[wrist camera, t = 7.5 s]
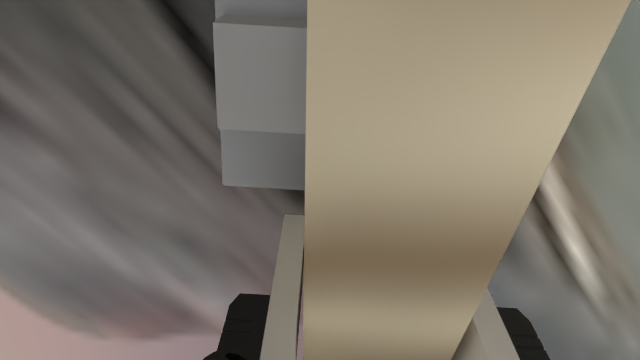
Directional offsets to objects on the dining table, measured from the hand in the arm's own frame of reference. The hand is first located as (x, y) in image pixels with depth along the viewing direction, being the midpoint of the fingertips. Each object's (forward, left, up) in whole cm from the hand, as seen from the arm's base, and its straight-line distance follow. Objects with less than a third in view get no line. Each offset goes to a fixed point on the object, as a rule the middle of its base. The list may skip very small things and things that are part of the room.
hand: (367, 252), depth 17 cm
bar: (-6, 0, +1) cm, 6 cm away
